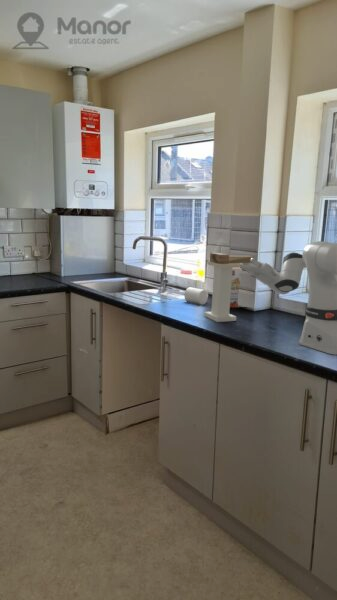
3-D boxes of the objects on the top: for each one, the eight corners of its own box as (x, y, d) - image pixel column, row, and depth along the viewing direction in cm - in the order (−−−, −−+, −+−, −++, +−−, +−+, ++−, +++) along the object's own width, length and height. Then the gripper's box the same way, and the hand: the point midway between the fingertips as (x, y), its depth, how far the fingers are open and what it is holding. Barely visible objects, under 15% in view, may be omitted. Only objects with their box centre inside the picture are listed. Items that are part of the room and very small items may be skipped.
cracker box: (222, 308, 234) (224, 267, 230) (217, 305, 239) (220, 266, 235) (246, 307, 237) (250, 268, 233) (242, 305, 243) (245, 266, 239)
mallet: (256, 263, 208) (256, 254, 207) (218, 263, 199) (219, 254, 199) (246, 261, 215) (246, 253, 214) (209, 261, 206) (210, 252, 206)
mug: (198, 305, 238) (199, 290, 236) (183, 302, 244) (184, 287, 243) (211, 302, 246) (212, 288, 245) (197, 299, 253) (198, 285, 251)
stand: (235, 320, 207) (240, 264, 202) (217, 322, 202) (221, 264, 198) (222, 314, 217) (226, 261, 212) (204, 316, 213) (207, 261, 208)
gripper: (275, 282, 207) (255, 267, 200) (249, 275, 225) (230, 262, 218) (282, 270, 207) (261, 255, 200) (255, 264, 225) (236, 250, 219)
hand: (245, 258), depth 209 cm, fingers open, 8 cm apart
